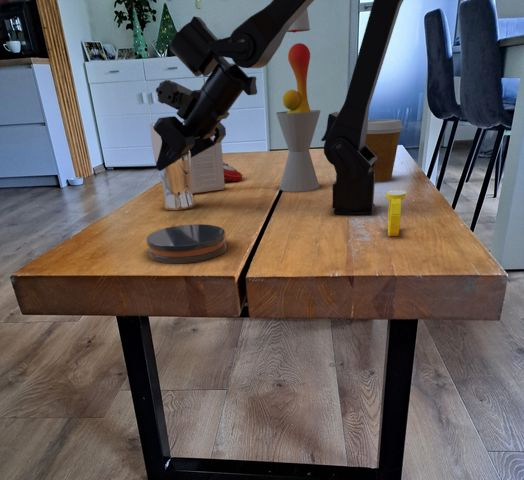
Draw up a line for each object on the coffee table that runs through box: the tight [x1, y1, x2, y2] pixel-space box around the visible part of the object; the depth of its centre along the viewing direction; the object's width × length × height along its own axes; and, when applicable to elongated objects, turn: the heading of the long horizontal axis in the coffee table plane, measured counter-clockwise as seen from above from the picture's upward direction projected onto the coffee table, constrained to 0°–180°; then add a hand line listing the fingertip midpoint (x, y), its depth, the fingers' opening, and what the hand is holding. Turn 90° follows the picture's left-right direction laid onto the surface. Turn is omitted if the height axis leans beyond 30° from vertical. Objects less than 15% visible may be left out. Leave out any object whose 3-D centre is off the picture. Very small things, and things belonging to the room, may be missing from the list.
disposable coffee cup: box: [365, 118, 404, 183], centre depth 107 cm, size 10×10×12 cm
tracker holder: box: [223, 161, 243, 182], centre depth 120 cm, size 12×4×10 cm
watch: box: [385, 189, 407, 237], centre depth 70 cm, size 6×3×6 cm, turn 170°
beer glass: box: [149, 120, 197, 211], centre depth 92 cm, size 7×7×15 cm
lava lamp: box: [275, 8, 321, 193], centre depth 98 cm, size 9×9×35 cm
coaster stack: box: [146, 223, 227, 264], centre depth 69 cm, size 11×11×2 cm
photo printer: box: [191, 136, 226, 194], centre depth 106 cm, size 10×4×12 cm, turn 117°
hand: (168, 165), depth 92 cm, fingers open, 8 cm apart
